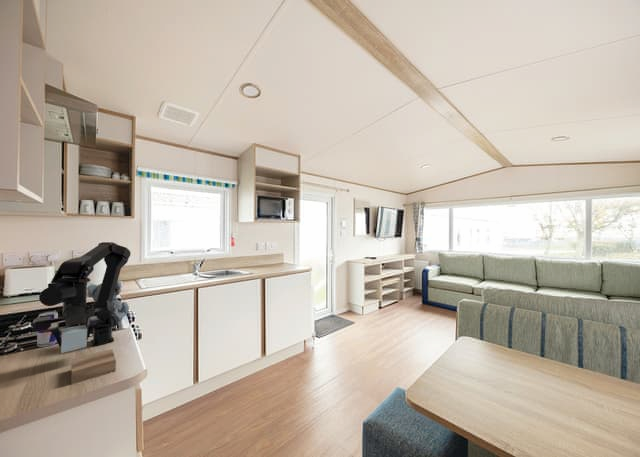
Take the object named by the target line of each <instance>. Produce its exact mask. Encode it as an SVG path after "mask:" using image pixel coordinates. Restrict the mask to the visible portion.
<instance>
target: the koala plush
mask: <svg viewBox="0 0 640 457" xmlns="http://www.w3.org/2000/svg"><path fill="white" fill-rule="evenodd" d="M101 285H102V283H100V284H98V285H96V284H94V283H91V284H90V283H89V284H88V283H87V298H89V299H90V298H91V299H92V300H93V301H94V303H95V302H96V301H97V298H98V295H99V291H100V288H101ZM122 292H124V282H123V281H122V280H121V279H120V280H118V281H117V285H116V289H115V292H114V296H113V300H112V303H113V305H114V307H115V312H114V313H115V314H116V315H117V316H118V318H119V321H121V320H123V319H124V317H125V316H127V314H128V313H129V311H130V310H129V309H130V307H129V303H128V302H127V301H122V302H121V301H120V300H118V299H117V296H119V295H120V294H121V293H122ZM94 303H92V304H91V305H93V304H94ZM87 307H89V305H88V306H87Z"/></svg>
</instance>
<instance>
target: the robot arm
mask: <svg viewBox="0 0 640 457" xmlns="http://www.w3.org/2000/svg"><path fill="white" fill-rule="evenodd" d="M130 257H131V250H130V249H129V248H128V247H125V246H122V245H119V244H117V243H115V242H108V241H107V242H106V241H102V242H99V243H98V245H97V246H95V247H94V248H92V249H90V250H89V251H87V252H86V253H84V254H83V255H81V256H79V257H74V258H70V259H67V260H64V261H63V262H62V263H61V264H60V266H59V267H58V269H57V270H56V272H55V274H54V276H53V278H52V279H51V281H50V283H47V288H45V289H43V290H42V291H41V293H40V294H39V297H38V298H39V299H38V300H39V302H40V303H41V304H42V305H44V306H46V307H53V306H57V305H60V304H62V317H61V316H59V317H58V318H54V319H51V316H48V317H42V318H38V317H37V318H34V320H33V321H32V330H31V332H34V333H35V332H36V333H37V331H41V330H46V332H49V331H50V332H51V333H52V334H53V335H54V336H55V338H56V340H57V342H56V343H57V345H58V347H59V348H61V329H60V326H59V325H60V324H65V326H66V327H73V325H74V326H75V325H79V324H80V325H81V324H82V325H86V328H87V341H88V340H89V339H90V336H91V333H92V332H93V333H92V339H91V340H90V343H91V346H92V347H96V346H100V345H104V344H107V343H113V342H115V338H114V337H113V328H114V327H117V326H118V324H119V321H120V320H119V318H118V316H117V315H116V314H115V313H114V312H115V307H114V305H113V303H112V300H113V296H114V292H115V289H116V285H117V281H119V277H120V274H121V269H122V268H123V267H124V266H125V265H126V264H127V263H128V261H129V258H130ZM102 260H103V261H104V263H105V265H106V267H105V268H106V269H105V271H104V274H103V278H102V285H101V288H100V291H99V295H98V298H97V301H96V302H95V301H94V303H92V304H93V305H92V304H89V305H88V306H89V307H88V306H87V298H88V297H87V285H88V283H89V282H91V278H89V276H90V274H92V273H93V271H94V270H95V269H94V268H95V267H94V266H96V265H97V264H99V262H101V261H102Z"/></svg>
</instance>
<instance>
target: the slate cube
mask: <svg viewBox="0 0 640 457" xmlns="http://www.w3.org/2000/svg"><path fill="white" fill-rule="evenodd" d="M60 336H61V347H60V352H61V353H60V354H63V353H67V352H72V351H75V350H80V349H84V348H87V347H88V346H87V345H88V343H87V342H88V340H87V327H86V324H82V325H81V324H80V325H78V326H70V327H67V328H66V327H65V328H62V329H60Z"/></svg>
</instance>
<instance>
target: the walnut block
mask: <svg viewBox="0 0 640 457" xmlns="http://www.w3.org/2000/svg"><path fill="white" fill-rule="evenodd" d="M116 365H117V358H116V356H115V353H114V350H113V348H112V349H107V350H103V351H99V352H96V353H95V352H94V353H92V354H91V353H90V354H88V355H84V356H79V357H75V358H72V359H71V385H74V384H78V383H82V382H85V381H89V380H92V379H95V378H99V377H101V376H105V375H108V374H111V372H112V373H115V372H117V370H116V369H117V366H116Z"/></svg>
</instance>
